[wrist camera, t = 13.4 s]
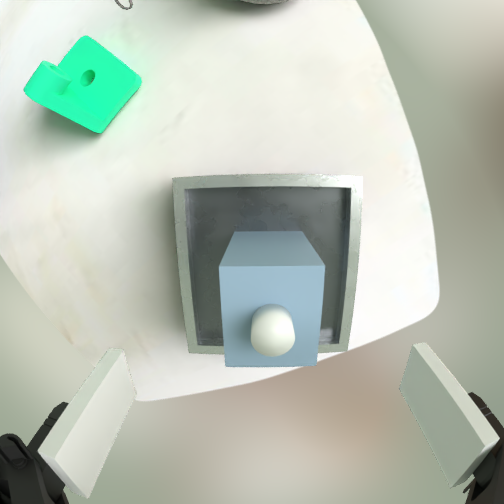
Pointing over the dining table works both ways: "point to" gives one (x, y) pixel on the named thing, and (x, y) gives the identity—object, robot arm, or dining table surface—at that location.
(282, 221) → the open square box
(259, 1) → the coffee pot
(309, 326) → the blue bottle
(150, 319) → the dining table surface
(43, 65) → the camera mount
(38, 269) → the dining table surface
